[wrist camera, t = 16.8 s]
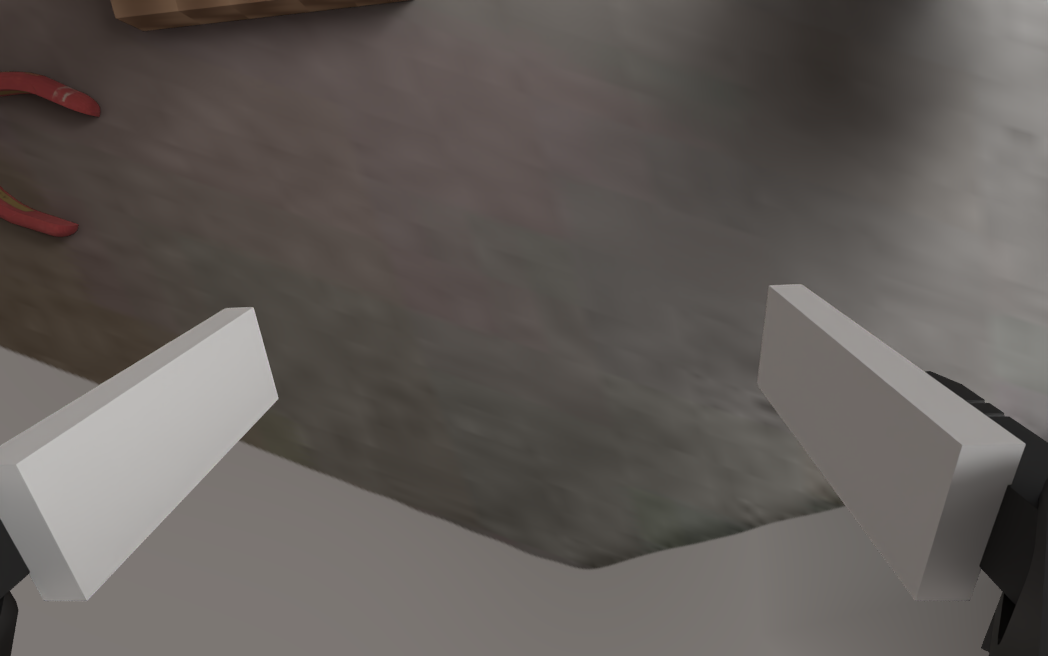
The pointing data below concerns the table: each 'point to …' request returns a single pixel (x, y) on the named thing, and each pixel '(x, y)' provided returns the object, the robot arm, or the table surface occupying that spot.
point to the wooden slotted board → (217, 10)
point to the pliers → (60, 94)
